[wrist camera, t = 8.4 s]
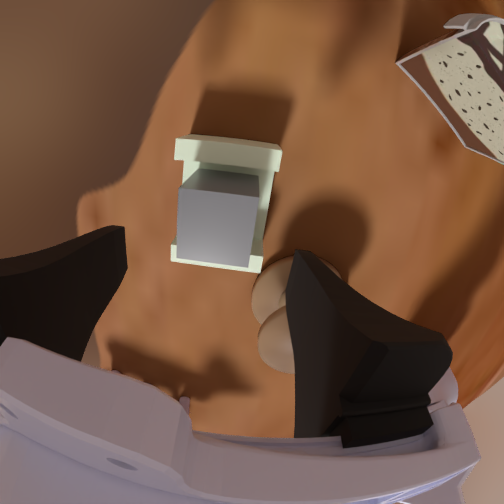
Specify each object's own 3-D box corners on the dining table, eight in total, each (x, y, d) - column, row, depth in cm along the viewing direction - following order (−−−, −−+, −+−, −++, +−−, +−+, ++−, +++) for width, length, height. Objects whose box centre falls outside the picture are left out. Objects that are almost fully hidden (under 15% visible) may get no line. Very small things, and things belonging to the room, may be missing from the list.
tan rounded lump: (355, 261, 22) (379, 305, 17) (327, 331, 26) (339, 378, 20) (259, 248, 21) (260, 294, 16) (246, 324, 25) (243, 374, 20)
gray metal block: (258, 175, 18) (259, 197, 13) (250, 230, 20) (248, 267, 15) (198, 168, 17) (178, 187, 13) (194, 223, 19) (176, 257, 15)
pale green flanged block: (277, 144, 18) (282, 150, 15) (259, 248, 21) (260, 273, 18) (190, 133, 17) (176, 138, 14) (182, 238, 21) (170, 261, 18)
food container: (498, 116, 15) (578, 140, 6) (472, 159, 17) (555, 199, 8) (415, 8, 11) (495, -23, 2) (380, 49, 14) (467, 19, 5)
